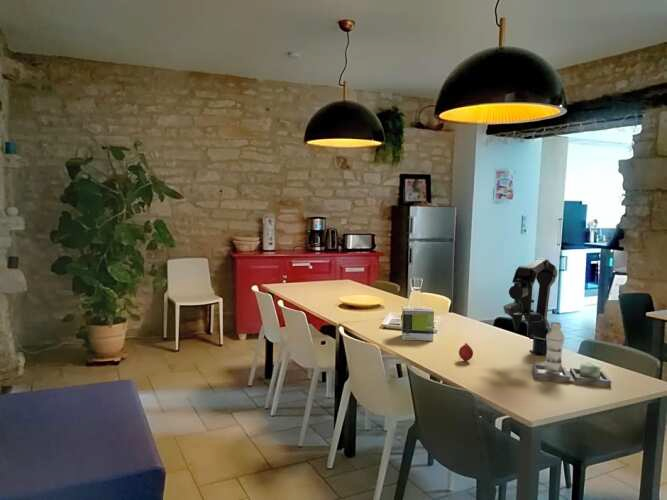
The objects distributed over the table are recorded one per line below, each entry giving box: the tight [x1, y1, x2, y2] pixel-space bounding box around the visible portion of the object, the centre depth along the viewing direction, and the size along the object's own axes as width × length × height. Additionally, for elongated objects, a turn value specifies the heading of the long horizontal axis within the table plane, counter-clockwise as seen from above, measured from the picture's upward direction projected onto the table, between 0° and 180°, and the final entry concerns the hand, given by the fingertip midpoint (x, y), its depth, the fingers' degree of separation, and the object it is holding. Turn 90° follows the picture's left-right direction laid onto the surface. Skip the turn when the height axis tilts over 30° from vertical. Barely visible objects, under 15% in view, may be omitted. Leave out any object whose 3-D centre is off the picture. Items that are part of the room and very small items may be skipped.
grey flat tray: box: [531, 361, 612, 389], centre depth 199 cm, size 26×12×6 cm, turn 75°
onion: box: [458, 342, 474, 362], centre depth 217 cm, size 6×6×8 cm
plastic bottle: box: [543, 321, 565, 374], centre depth 200 cm, size 6×7×20 cm
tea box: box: [401, 306, 435, 342], centre depth 253 cm, size 15×10×15 cm, turn 84°
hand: (522, 333), depth 215 cm, fingers open, 9 cm apart
